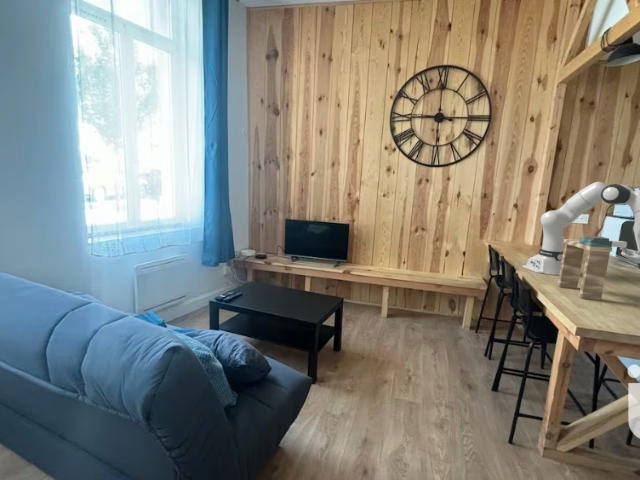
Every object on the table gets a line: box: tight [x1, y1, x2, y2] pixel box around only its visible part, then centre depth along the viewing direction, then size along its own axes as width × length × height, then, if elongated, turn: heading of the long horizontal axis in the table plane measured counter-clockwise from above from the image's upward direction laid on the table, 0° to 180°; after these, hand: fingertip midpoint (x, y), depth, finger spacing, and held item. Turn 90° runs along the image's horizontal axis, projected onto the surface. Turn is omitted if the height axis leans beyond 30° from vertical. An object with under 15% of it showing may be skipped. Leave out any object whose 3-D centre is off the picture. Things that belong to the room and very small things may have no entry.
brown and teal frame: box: [557, 236, 613, 301], centre depth 180 cm, size 20×10×29 cm, turn 176°
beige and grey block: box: [586, 235, 628, 248], centre depth 171 cm, size 16×5×4 cm, turn 86°
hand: (629, 249), depth 171 cm, fingers open, 8 cm apart
